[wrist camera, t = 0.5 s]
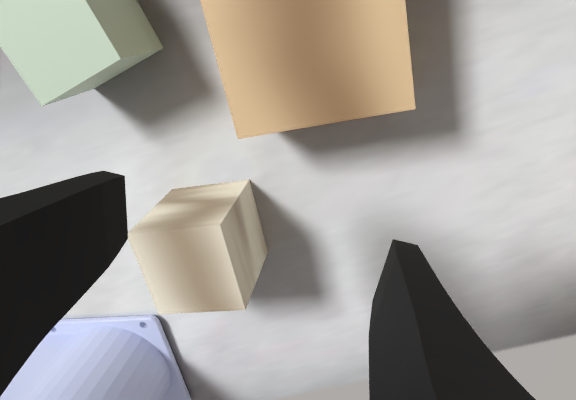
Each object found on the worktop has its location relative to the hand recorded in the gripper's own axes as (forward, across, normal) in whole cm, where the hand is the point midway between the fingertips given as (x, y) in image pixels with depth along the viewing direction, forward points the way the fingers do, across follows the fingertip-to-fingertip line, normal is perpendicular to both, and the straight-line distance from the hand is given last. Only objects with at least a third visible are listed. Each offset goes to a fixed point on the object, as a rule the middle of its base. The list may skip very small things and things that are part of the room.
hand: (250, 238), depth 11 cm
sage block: (+10, +11, -2) cm, 15 cm away
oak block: (+11, +1, -4) cm, 12 cm away
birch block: (+10, +4, +7) cm, 13 cm away
